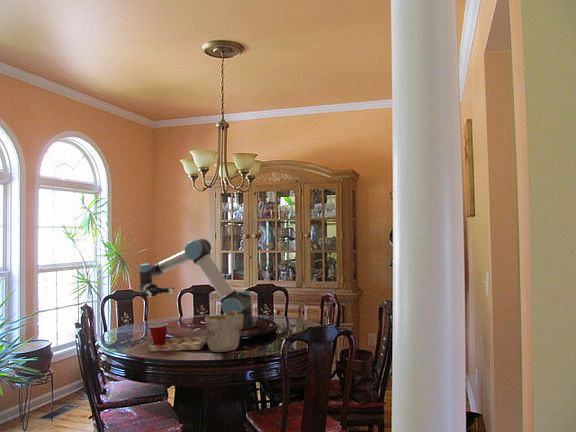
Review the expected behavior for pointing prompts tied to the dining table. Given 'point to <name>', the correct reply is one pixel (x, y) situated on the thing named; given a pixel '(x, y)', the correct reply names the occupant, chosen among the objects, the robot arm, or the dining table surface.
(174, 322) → the dining table surface
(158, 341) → the plastic cup
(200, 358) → the dining table surface
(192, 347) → the wooden compartment tray
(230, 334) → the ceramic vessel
